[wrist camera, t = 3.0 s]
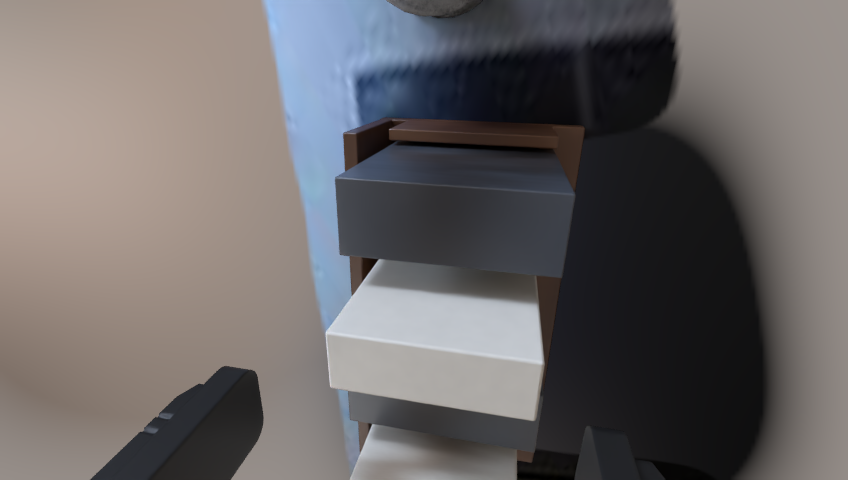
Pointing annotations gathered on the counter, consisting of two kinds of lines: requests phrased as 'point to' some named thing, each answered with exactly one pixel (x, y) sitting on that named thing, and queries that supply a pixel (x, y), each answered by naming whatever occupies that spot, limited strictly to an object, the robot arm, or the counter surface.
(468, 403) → the white book
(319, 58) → the counter surface
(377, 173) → the book rack
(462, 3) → the stone chess piece
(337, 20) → the counter surface
